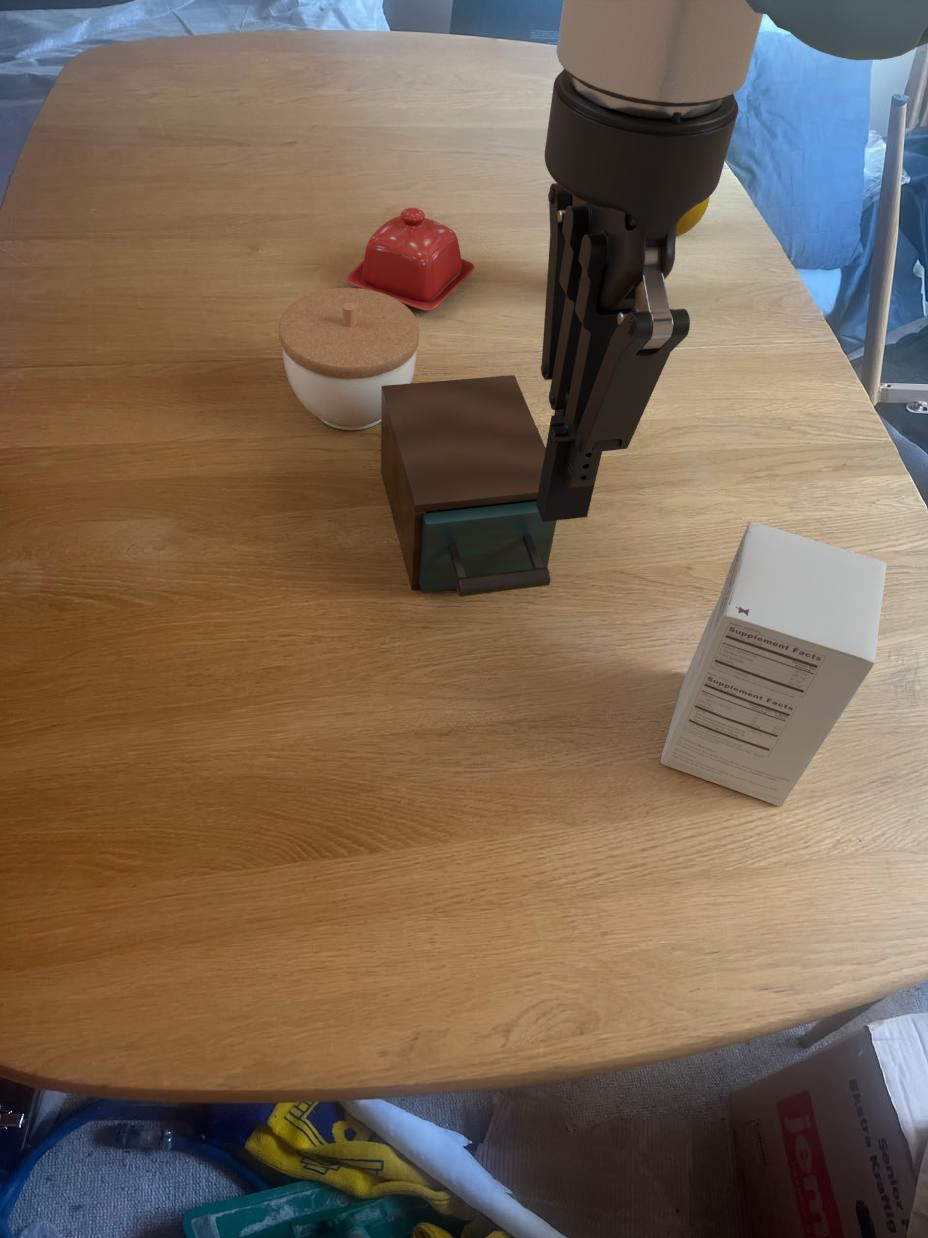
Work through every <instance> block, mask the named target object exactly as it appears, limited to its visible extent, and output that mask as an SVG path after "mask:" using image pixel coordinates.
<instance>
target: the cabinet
mask: <svg viewBox="0 0 928 1238" xmlns="http://www.w3.org/2000/svg"><path fill="white" fill-rule="evenodd" d="M381 393H382V394H381V422H380V474H381V478H382V481H383V486H384V490H385V493H386V497H387V501H388V505H389V510H390V513H391V515H392V521H393V525H394V528H395V531H396V537H397V539H398V543H399V547H400V551H401V554H402V555H401V556H402V558H403V563H404V566H405V571H406V574H407V578H408V582H409V585H410V590H412V591H415V590H421V587H420V583H419V578H420V560H421V542H422V524H423V514H424V513H425V512H426V511H435V510H445V509H454V508H463V507H472V506H481V505H490V504H500V503H509V502H518V501H527V500H536V499H537V496H538V490H539V484H540V479H541V473H542V467H543V461H544V456H545V450H546V445H545V442H544V440H543V439H542V436H541V434H540V432H539V429H538V427H537V425H536V423H535V420H534V417H533V416H532V415H533V414H532V413H531V411H530V408H529V406H528V404H527V401H526V399H525V397H524V394H523V392H522V390H521V387H520V385H519V382H518V380H517V377H516V376H515V374H510V375H498V376H485V377H474V378H462V379H449V380H436V381H423V382H411V383H410V384H398V385H386V386H382V387H381ZM557 522H558V520H557V521H556V524H555V529H554V534H553V539H552V544H551V549H550V553H549V558H548V563H547V567H548V566H549V561H550V556H551V551H552V546H553V542H554V537H555V531H556V527H557Z"/></svg>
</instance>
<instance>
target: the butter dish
mask: <svg viewBox="0 0 928 1238" xmlns="http://www.w3.org/2000/svg"><path fill="white" fill-rule="evenodd" d="M425 216H426V214H425V212H424V211H423V210H422V209H420V208H418V207H407V208H405V209H403V210H402V211H401V212H400V215H397V216H394V217H393V218H391V219H389V220H388V221H386V222H385V223H383V224H382V225H381V226H380V227H379V228H378V229H376V230H375V232H374V233H372V235H371V237H369V240H368V241H367V243H366V246H365V251H364V257H363V260H362V261H361V262H360V263H358V265H357V266H356V267H355V268H354V269H353V270H352V271H351V272H350V273H348V275H347V276H346V278H345V280H346V283H348V284H349V285H350V286H352V287H353V288H360V289H366V290H372V291H376V292H380V293H383V294H385V295H388V296H390V297H392V298H394V299H396V300H398V301H400V302H401V303H402V304H404V305H405V306H407V307H408V306H409V307H410V308H414V309H416V310H417V309H418V310H419V311H424V312H431V311H433V310H435V309H436V308H438V307H439V306H441V304H443V303H444V301H445V300H446V299H447V298H449V296H450V295H451V294H452V293H453V292H454V291H455V290H456V289H457V288H458V287H460V285H462V283H464V281H466V279H467V278H469V276H471V274H472V273H473V272H474V270H475V264H474V263H473V262H472V261H469V260H466V259H464V258H462V255H461V250H460V244H459V240H458V236H457V234H456V232H455V231H454V230H452V229H451V228H450V227H449V226H446V225H444V224H442V223H440V222H438V221H435V220H433V219H429V218H426V217H425Z"/></svg>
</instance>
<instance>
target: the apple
mask: <svg viewBox="0 0 928 1238" xmlns="http://www.w3.org/2000/svg"><path fill="white" fill-rule="evenodd" d="M710 197H711V195H710V196H709V197H708V198H707V199H706V200H705V201H703V202H702V203H700V204H698V205H696V206H695V207H693V208H692V209H691V210H689V211H688V212H687V213H686V214H685V215H684V216H682V218H681V219H680V220H679V221H678V223H677V232H676V235H682V234H686V233H688V232H690V231H691V230H692V229H693V228H694V227H695V226H696V225H697V224H698V223H699V222H701V220H702V218H703V217H704V215H705V213H706V211H707V209H708V207H709V203H710Z"/></svg>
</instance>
